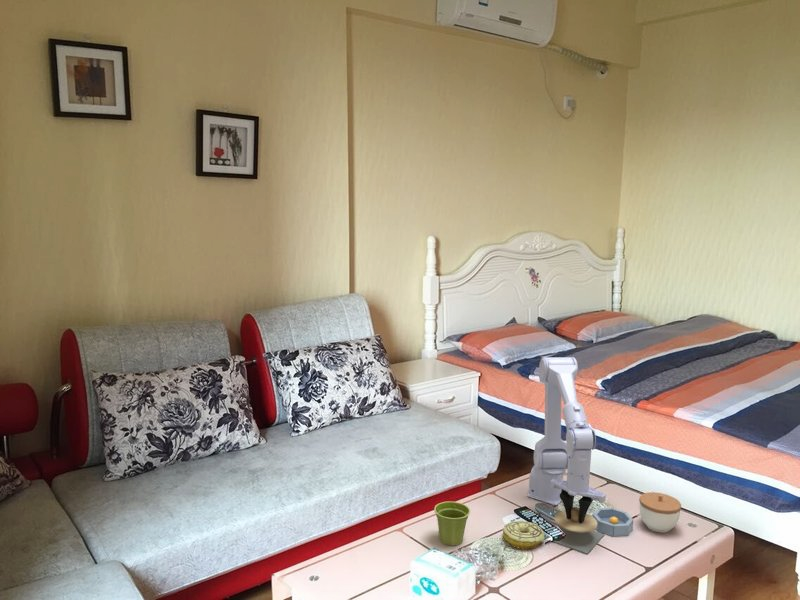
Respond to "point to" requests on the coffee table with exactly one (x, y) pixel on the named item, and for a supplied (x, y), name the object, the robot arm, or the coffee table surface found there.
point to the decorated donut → (523, 534)
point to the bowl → (613, 521)
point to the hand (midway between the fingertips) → (575, 519)
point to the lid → (575, 521)
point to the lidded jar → (659, 511)
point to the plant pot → (451, 521)
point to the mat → (580, 540)
